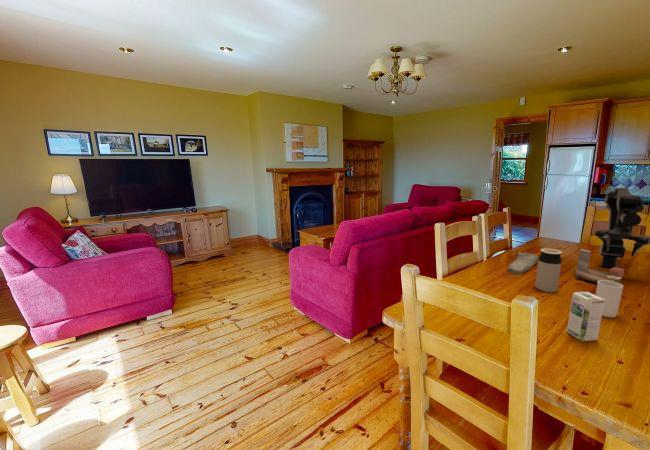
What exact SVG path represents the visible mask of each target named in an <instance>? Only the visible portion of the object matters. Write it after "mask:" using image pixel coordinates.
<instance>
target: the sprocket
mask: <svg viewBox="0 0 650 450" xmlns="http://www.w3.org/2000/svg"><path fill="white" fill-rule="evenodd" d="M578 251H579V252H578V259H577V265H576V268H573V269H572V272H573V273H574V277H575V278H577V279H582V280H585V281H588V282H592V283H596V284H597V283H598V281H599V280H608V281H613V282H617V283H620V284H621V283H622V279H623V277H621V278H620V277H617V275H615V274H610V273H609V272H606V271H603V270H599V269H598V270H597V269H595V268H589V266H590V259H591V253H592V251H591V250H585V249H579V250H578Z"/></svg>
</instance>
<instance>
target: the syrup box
mask: <svg viewBox="0 0 650 450" xmlns="http://www.w3.org/2000/svg"><path fill="white" fill-rule="evenodd" d="M604 303H605V299H602V298H600V297H598V296H596V294H593V293H591V292H589V291H576V292H573V293H572V298H571V302H570V311H569V318H568V320H567V321H568V322H567V327H566V333H567V332H568V334H570V335H571V336H573V338H574V337H575V339H577V340H579V341H581V342H591V341H598V338H599V333H600V328H601V323H602V317H603V316H602V313H603V308H604Z"/></svg>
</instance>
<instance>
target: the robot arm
mask: <svg viewBox="0 0 650 450" xmlns="http://www.w3.org/2000/svg"><path fill="white" fill-rule="evenodd" d="M604 204H605V207H606V209H607V210H608V212H609V213H608V214H609V215H608V216H609V217H608V226H607V227H608V228H607V230H606V229H598V230H596V231H595V233H594V237H597V239H600V240H601V242H602V244H601V246H600V248H599V250H598V254H599V255H600V256H602V258H601V263H599V264H598V265H597V266H598V267H602V268H606V269H611V268H614V267H617V268H620V266H619V265H617V264H618V259H619V258H621V259H622V258H624V256H625V254H626V251H627V249H626V247H625V246H624V243H625V242H624V240H629V241H634V243H633V248H632V251H631V257H633V258H634V257H635V256H636V254H637V253H638V251H639V250H641V248H642V247H643V246H646V245H650V235H649V236H648V235H638V236H636V235H635V236H634V233H633V231H634V227H635V226H636V227H637V226H638V225H640V224H641V222H642V217H641V216H640V215H639V214H638V212H640V213H642V212H643V210H644V208H645V207H644V206H645V205H644V200H643V199H642V198H641V196H640V195H637V194H632V193H631V192H630V191H629V188H626V187H616V188H614V189H613V190H611V191H609V192H608V193H607V194H606V196H605V198H604Z"/></svg>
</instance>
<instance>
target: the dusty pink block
mask: <svg viewBox="0 0 650 450" xmlns="http://www.w3.org/2000/svg"><path fill="white" fill-rule="evenodd" d="M608 269H609V270H608V273H610V274H615V275H617V277H620V278H623V277H624V274H625V268H621V267H619V268H617V267H614V268H611V269H610V268H608Z"/></svg>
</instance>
